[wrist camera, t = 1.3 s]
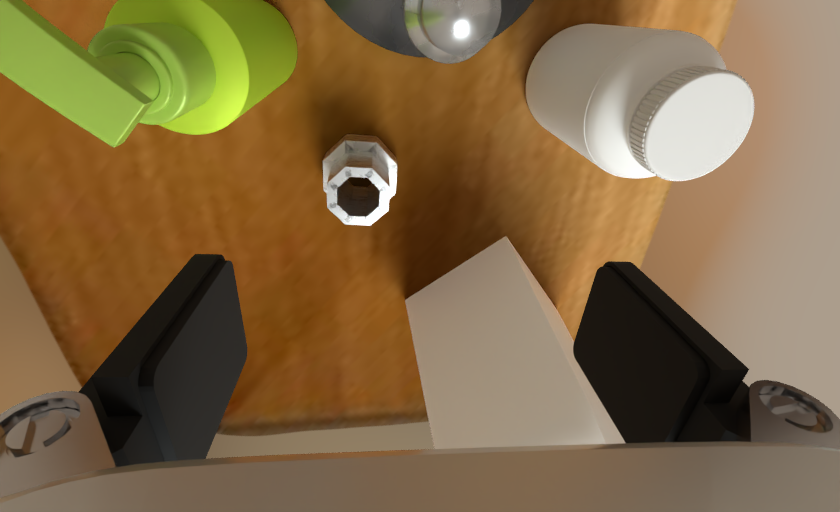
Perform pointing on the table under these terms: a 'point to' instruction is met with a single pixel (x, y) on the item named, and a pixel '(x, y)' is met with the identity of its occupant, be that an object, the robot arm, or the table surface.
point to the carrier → (430, 24)
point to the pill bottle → (640, 100)
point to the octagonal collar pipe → (363, 161)
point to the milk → (501, 360)
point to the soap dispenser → (152, 63)
